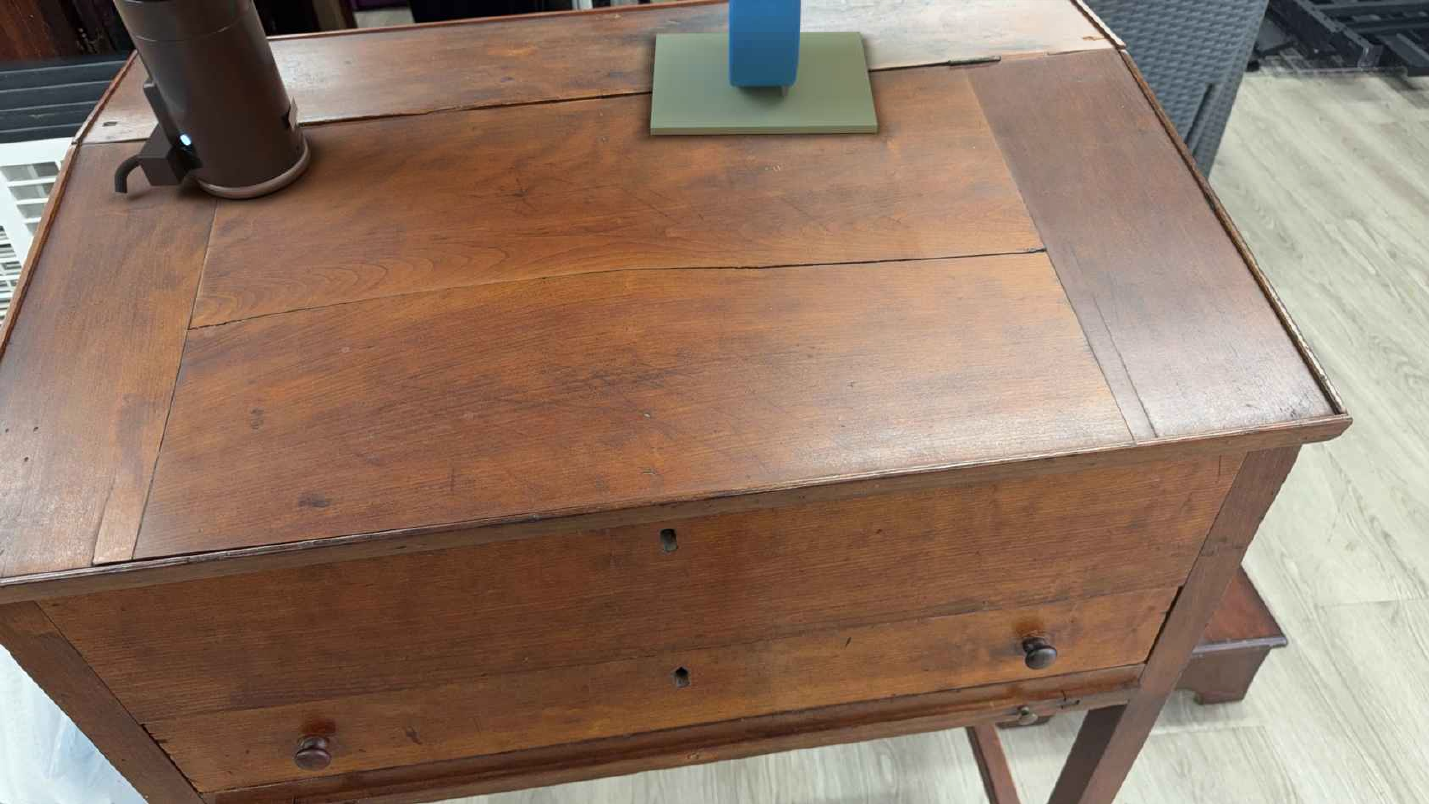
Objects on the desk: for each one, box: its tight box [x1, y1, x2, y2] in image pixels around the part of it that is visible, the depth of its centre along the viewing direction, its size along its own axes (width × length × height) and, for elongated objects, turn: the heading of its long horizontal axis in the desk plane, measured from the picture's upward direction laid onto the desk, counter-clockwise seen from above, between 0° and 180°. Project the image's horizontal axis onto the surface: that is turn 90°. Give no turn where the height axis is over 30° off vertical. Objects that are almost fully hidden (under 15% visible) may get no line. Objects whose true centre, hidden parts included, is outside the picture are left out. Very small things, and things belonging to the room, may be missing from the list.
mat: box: [650, 31, 879, 136], centre depth 95 cm, size 20×16×1 cm
